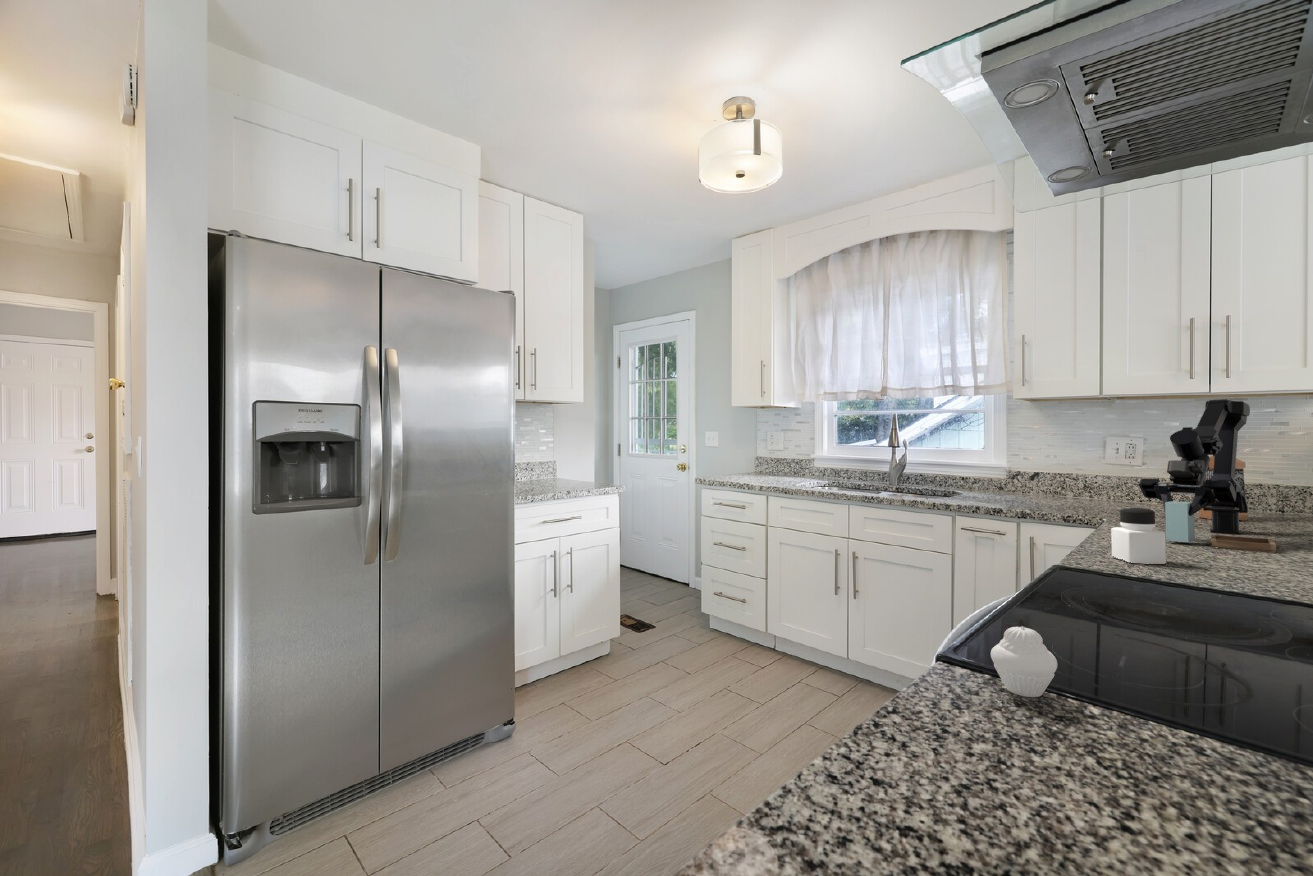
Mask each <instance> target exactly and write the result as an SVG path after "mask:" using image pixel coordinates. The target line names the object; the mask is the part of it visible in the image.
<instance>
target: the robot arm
mask: <svg viewBox="0 0 1313 876" xmlns="http://www.w3.org/2000/svg"><path fill="white" fill-rule="evenodd" d="M1204 407H1205V408H1204V411H1203V413H1202V415H1201V417H1200V419H1199V421H1198V423H1197V425H1196V427H1195V428H1193V427H1191V426H1189V427H1187V426H1185V427H1182V429H1181V430H1178V431H1176V432H1173V433H1172V434H1171V435H1170V436H1169V440H1170V443H1171V445H1172V447H1173V449H1174V452H1175V454H1176V456H1177V457H1178V458H1181V459H1180V460H1168V463H1167V468H1166V473H1167V474H1169V478H1168V479H1169V481H1170V482H1172V483H1169V482H1167V481H1161V480H1160V478H1141V479H1140V480H1139V481H1138V487H1139V488H1140V491H1141V493H1142V495H1143V497H1144V498H1147V499H1156V500H1157V499H1158V501H1160V502H1161V501H1162V506H1163V511H1164V512H1163V513H1165V502H1170V501H1174V499H1173V497H1172V494H1178V495H1179V494H1181V495H1194V497H1193V499H1192V501H1191V502H1192V503H1191V505H1190V508H1189V512H1188V514H1189V516H1192V515H1193V514H1194V515H1195V514H1196V513H1197V512H1198V513H1199V510H1201V509H1202V508H1203V510H1204V511H1207V510H1208V511H1212V520H1211V528H1210V529H1209V531H1211V532H1210V533H1217V532H1218V534H1234V535H1242V533H1243V532H1242V530H1240V521H1239V513H1248V514H1249V506H1248V502H1247V498H1246V496H1245V497H1244V494H1243V492H1242V488H1241V487H1240V485H1239V484H1238V483H1237V481H1236V480H1235V465H1236V458H1237V452H1238V451H1237V449H1238V437H1239V435H1238V434H1239V431H1240V430H1241V429H1242V428H1243V427H1244V426H1245V425H1246V424H1247V420H1248V417H1249V416H1250V413H1251V411H1250V410H1251V408H1250V404H1248V403H1247V402H1245V401H1243V400H1232V399H1228V398H1224V399H1223V398H1221V399H1210V400H1207V401H1205V405H1204ZM1213 455H1215V458H1214V470H1213V476H1212V477H1211V478H1210V479H1207V480H1205V475H1206V472H1207V469H1209V468H1210V467H1209V462H1210V456H1213ZM1203 483H1204V486H1202V484H1203ZM1212 506H1219V507H1236V508H1239V509H1228V508H1212Z"/></svg>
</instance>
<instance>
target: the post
mask: <svg viewBox="0 0 1313 876" xmlns="http://www.w3.org/2000/svg"><path fill="white" fill-rule="evenodd" d="M1191 503H1192V501H1191V502H1189V501H1177V500H1176V501H1175V500H1173V501H1170V502H1165V512H1164V516H1165V534H1166V541H1169V542H1170V541H1172V542H1181V543H1192V542H1194V541H1195V540H1196V538H1195V536H1196V534H1195V514H1193V515H1192V516H1189V514H1188V512H1189V508H1190V505H1191Z"/></svg>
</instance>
